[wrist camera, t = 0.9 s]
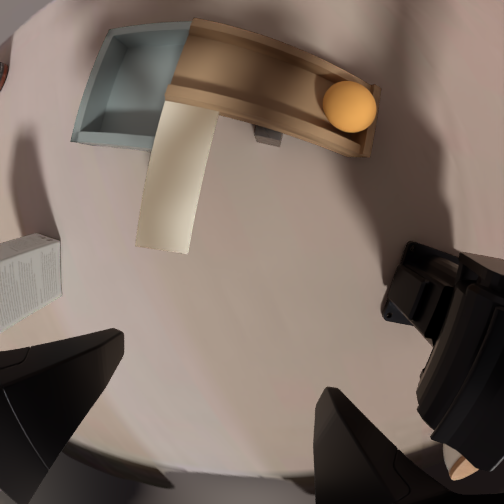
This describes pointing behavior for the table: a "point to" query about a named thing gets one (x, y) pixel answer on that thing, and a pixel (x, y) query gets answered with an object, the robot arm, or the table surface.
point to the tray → (129, 85)
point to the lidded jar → (457, 463)
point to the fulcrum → (268, 136)
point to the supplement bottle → (3, 74)
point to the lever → (237, 107)
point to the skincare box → (28, 277)
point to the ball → (349, 106)
